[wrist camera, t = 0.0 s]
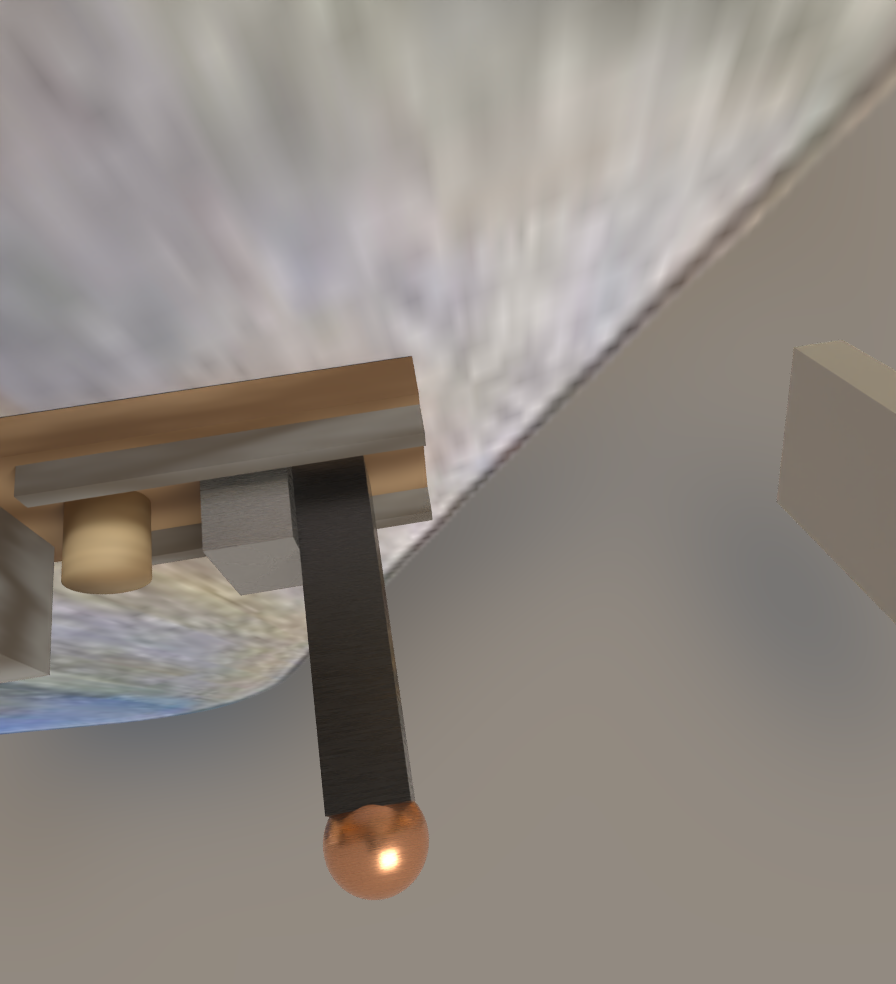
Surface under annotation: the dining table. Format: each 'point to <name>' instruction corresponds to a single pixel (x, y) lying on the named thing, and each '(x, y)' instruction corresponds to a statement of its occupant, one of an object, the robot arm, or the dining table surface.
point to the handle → (333, 651)
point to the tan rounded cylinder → (107, 543)
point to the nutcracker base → (190, 469)
